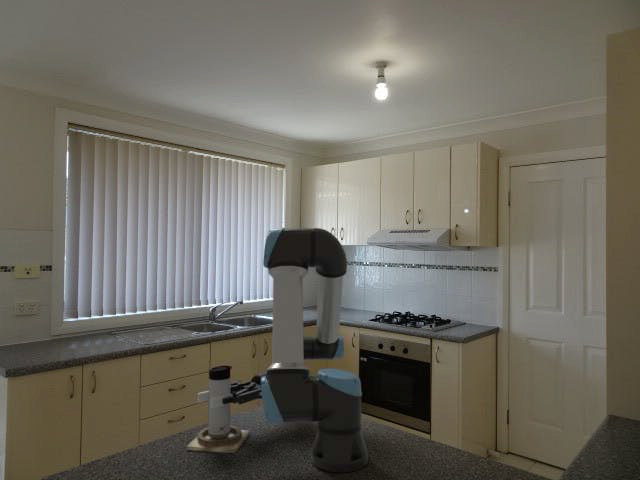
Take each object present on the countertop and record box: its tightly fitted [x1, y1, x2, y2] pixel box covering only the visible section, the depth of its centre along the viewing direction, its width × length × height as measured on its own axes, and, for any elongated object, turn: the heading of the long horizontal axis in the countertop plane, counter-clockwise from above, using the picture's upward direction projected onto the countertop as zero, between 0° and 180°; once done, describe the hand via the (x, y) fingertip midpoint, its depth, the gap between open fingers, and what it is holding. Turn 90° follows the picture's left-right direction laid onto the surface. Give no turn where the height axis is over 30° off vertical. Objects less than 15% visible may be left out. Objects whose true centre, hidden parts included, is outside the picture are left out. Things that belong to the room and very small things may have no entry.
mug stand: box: [186, 424, 251, 454], centre depth 138 cm, size 14×14×2 cm
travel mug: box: [207, 365, 232, 439], centre depth 138 cm, size 6×7×20 cm
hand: (204, 400), depth 134 cm, fingers closed on travel mug, 6 cm apart
